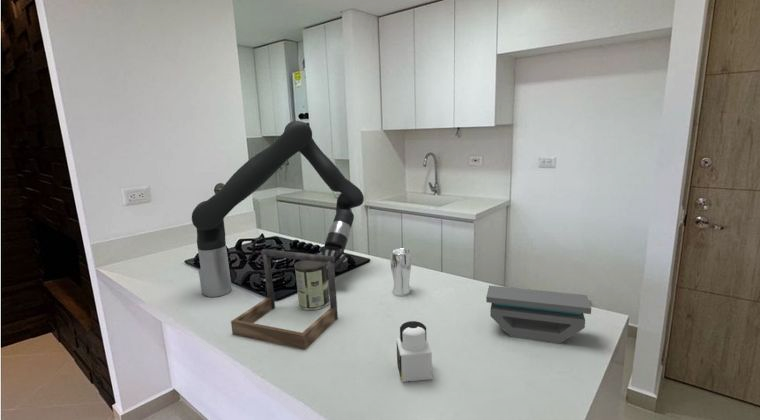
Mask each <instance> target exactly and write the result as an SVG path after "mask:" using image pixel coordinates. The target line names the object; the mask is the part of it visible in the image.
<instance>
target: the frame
mask: <svg viewBox="0 0 760 420" xmlns="http://www.w3.org/2000/svg"><path fill="white" fill-rule="evenodd" d="M260 253H261V256H262V259H263V267H264V268H263V269H264V276H265V287H266V295H267V297H266V298H264V299H263V300H261V301H260V302H258V303H257V304H255V305H254V306H252V307H251V308H249V309H248V310H246V311H245V312H243V313H242V314H240V315H239V316H236V317H235V318H233V320H231V321H230V324H231V325H230V326H231V332H232V335H235V336H239V337H244V338H249V339H254V340H258V341H262V342H263V341H264V342H267V343H268V342H269V343H273V344H277V345H281V346H288V347H291V348H295V349H299V350H306V349H307V348H308V347H309V346H310V345H311V344H312V343H313V342H314V341H316V339H317V338H318V337H319V336H321V335H322V334H323V333H324V332H325V330H326V329H328V327H330V326H331V325H332V324H333V323H334V322H335V321H336V320H338V319H339V316H338V300H337V289H336V287H337V285H336V274H335V273H336V271H335V270H334V262H335V257H334V256H325V255H316V254H315V253H304V252H297V251H296V252H294V251H284V250H278V249H277V250H275V249H266V248H263V249H262V250H261V252H260ZM271 257H274V258H281V259H292V260H299V261H301V260H308V261H317V262H326V263H327V269H328V292H329V301H330V302H329V308H328V309H327V310H326V311H325V312H324V313H322V315H320V316H319V317H318V318H317V319H316V320H315V321H314V322H312V323H311V324H310V325H309V326H308V327H307V328H306V329H305V330H304V331H302V332H300V331H296V330H290V329H285V328H280V327H276V326H269V325H264V324H260V323H255V322H256V321H257V320H259V319H260V318H262V317H263V316H265V315H266V314H268V313H269V312H270V311H271V310H274V309H275V308H276V304H275V293H274V285H273V277H272V276H273V273H272V266H271V265H272V264H271Z"/></svg>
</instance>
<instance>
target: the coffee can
mask: <svg viewBox="0 0 760 420" xmlns="http://www.w3.org/2000/svg"><path fill="white" fill-rule="evenodd" d="M326 265H327V263H326V262H317V261H308V260H299V261H296V262H295V263H294V271H295V279H296V288H297V291H296V292H297V299H298V300H297V301H298V307H299V308H300V309H301V310H304V311H317V310H320V309H324V308H325V307H327V306H328V305H330V296H329V282H328V280H327V267H326Z"/></svg>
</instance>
